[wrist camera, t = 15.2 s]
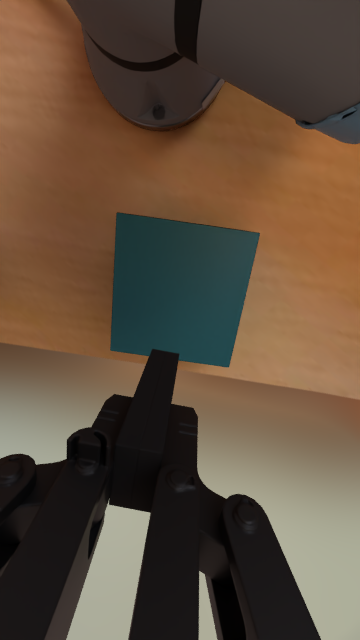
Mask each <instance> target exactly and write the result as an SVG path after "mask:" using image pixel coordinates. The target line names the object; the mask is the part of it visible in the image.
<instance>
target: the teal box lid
mask: <svg viewBox="0 0 360 640" xmlns="http://www.w3.org/2000/svg"><path fill="white" fill-rule="evenodd" d="M259 236H260V233H256V232H249V231H242V230H235V229H228V228H221V227H214V226H207V225H200V224H193V223H186V222H179V221H173V220H166V219H159V218H152V217H145V216H138V215H131V214H124V213H117V215H116V237H115V259H114V281H113V303H112V325H111V347H110V350H111V351H117V352H124V353H131V354H138V355H145V356H150V353H151V351H152V349H157V350H162V351H168V352H173V353H179V360H180V361H187V362H194V363H201V364H208V365H215V366H222V367H229V365H230V361H231V356H232V352H233V348H234V343H235V339H236V335H237V330H238V326H239V322H240V317H241V313H242V309H243V305H244V300H245V296H246V292H247V287H248V283H249V279H250V274H251V270H252V266H253V261H254V257H255V253H256V248H257V244H258V240H259Z"/></svg>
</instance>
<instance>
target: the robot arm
mask: <svg viewBox="0 0 360 640" xmlns="http://www.w3.org/2000/svg"><path fill="white" fill-rule="evenodd" d="M67 1H68V3H69V5H70V6H71V8H72V9H73V11H74V13H75V14H76V16H77V18H78V19H79V21H80V23H81V26H82V31H83V36H84V44H85V50H86V54H87V58H88V62H89V65H90V68H91V71H92V73H93V76H94V78H95V80H96V82H97V84H98V86H99V88H100V90H101V91H102V93H103V94H104V96H105V97H106V99H107V100H108V101H109V103H110V104H111V105H112V106H113V107H114V109H115V110H116V111H117V112H118V113H119V114H120V115H121V116H123V117H124V118H125V119H126V120H128V121H129V122H131V123H133V124H134V125H136V126H139V127H141V128H144V129H148V130H153V131H169V130H173V129H177V128H180V127H182V126H185V125H187V124H189V123H190V122H192V121H194V120H195V119H196V118H198V117H199V116H200V115H201V114H202V113H203V112H204V111H205V110H206V109H207V108H208V107H209V106H210V104H211V103H212V102H213V100H214V99H215V97H216V96H217V94H218V93H219V91H220V89H221V87H222V85H223V84H224V80H225V81H227V82H229V83H230V84H232V85H234V86H236V87H238V88H240V89H241V90H243V91H245V92H247V93H249V94H250V95H252V96H254V97H256V98H258V99H259V100H261V101H263V102H265V103H267V104H268V105H270V106H272V107H274V108H276V109H277V110H279V111H281V112H283V113H285V114H286V115H288V116H290V117H292V118H294V119H295V120H296V124H298V125H299V126H301V127H302V128H306V129H316V130H318V131H320V132H322V133H324V134H326V135H328V136H330V137H332V138H335V139H337V140H339V141H341V142H344V143H350V144H358V143H360V0H67ZM178 360H179V353H173V352H168V351H162V350H157V349H152V351H151V353H150V356H149V358H148V361H147V363H146V366H145V369H144V371H143V374H142V376H141V379H140V381H139V384H138V386H137V389H136V392H135V394H134V397H127V396H121V395H116V394H114V395H113V396H111V397H110V398H109V399H107V400H106V401H105V403H104V405H103V407H102V409H101V411H100V412H99V414H98V416H97V419H96V420H95V421H94V423H93V425H92V427H90V428H89V427H88V428H84V429H80V430H78V431H76V432H75V433H73V434H72V435H71V436H70V437H69V438H68V439H67V459H65V460H63V461H60V462H55V463H48V464H39V465H36V464H35V461H34V460H33V459H32V458H31V457H30V456H29V455H24V454H14V455H9V456H6V457H4V458H1V459H0V640H66V638H67V635H68V632H69V628H70V626H71V622H72V619H73V616H74V613H75V610H76V607H77V604H78V601H79V598H80V595H81V591H82V588H83V585H84V582H85V579H86V576H87V573H88V570H89V567H90V564H91V560H92V557H93V554H94V551H95V548H96V545H97V542H98V539H99V536H100V533H101V530H102V527H103V523H104V516H105V510H106V507H107V504H108V501H109V505H114V506H119V507H124V508H130V509H135V510H140V511H145V512H150V513H151V514H150V520H149V526H148V531H147V537H146V542H145V548H144V554H143V560H142V565H141V570H140V576H139V582H138V588H137V594H136V599H135V605H134V610H133V616H132V622H131V627H130V633H129V638H128V640H198V635H199V633H198V632H199V631H198V630H199V623H198V622H199V571H201V572H202V573H204V574H205V577H206V583H207V588H208V593H209V598H210V603H211V608H212V614H213V618H214V623H215V629H216V634H217V639H218V640H321V638H320V636H319V634H318V632H317V629H316V627H315V625H314V622H313V620H312V618H311V616H310V613H309V611H308V609H307V606H306V604H305V602H304V599H303V597H302V595H301V592H300V590H299V588H298V586H297V583H296V581H295V579H294V576H293V574H292V572H291V570H290V567H289V565H288V563H287V561H286V558H285V556H284V554H283V552H282V549H281V547H280V544H279V542H278V540H277V537H276V535H275V533H274V531H273V529H272V526H271V524H270V521H269V519H268V517H267V515H266V513H265V512H264V510H263V508H262V507H261V506H260V505H259V504H258V503H257V502H256V501H255V500H254V499H252V498H250V497H248V496H246V495H241V494H235V495H232V496H229V497H228V498H227V499H225V498H223V497H222V496H220V495H218V494H216V493H214V492H213V491H211V490H210V489H208V488H207V487H206V486H205V485H204V484H203V482H202V481H201V479H200V477H199V475H198V471H197V434H198V428H197V427H198V416H197V414H196V413H195V410H194V408H191V407H185V406H180V405H175V404H171V401H172V396H173V390H174V384H175V377H176V372H177V366H178ZM109 498H110V499H109Z"/></svg>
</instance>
